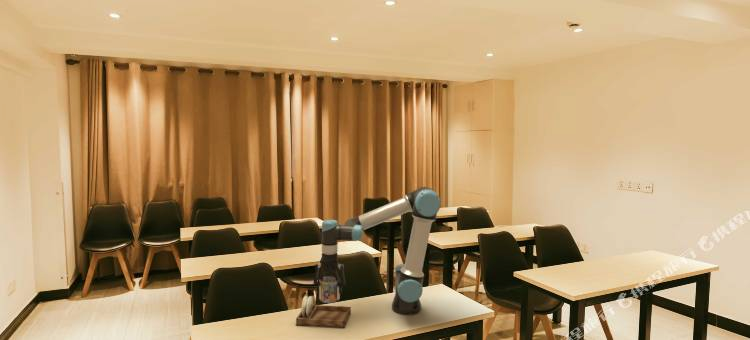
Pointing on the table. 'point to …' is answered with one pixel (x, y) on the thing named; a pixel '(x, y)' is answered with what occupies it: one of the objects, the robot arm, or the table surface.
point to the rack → (325, 317)
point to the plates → (307, 306)
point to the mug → (328, 289)
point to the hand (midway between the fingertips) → (329, 298)
